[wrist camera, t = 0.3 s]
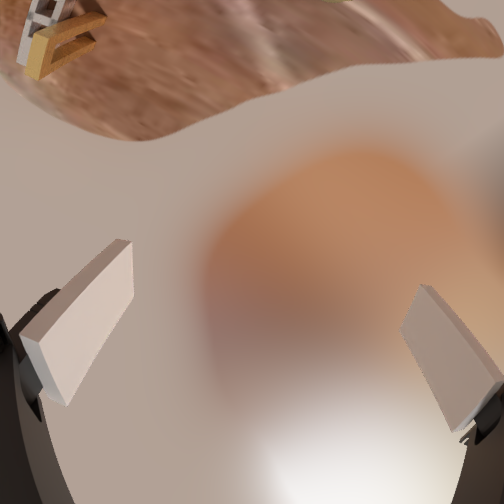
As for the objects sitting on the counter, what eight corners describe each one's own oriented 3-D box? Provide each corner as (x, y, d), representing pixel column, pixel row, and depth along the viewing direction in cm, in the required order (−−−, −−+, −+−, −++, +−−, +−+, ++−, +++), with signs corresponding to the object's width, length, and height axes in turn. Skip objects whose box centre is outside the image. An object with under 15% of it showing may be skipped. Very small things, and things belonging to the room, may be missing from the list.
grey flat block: (91, -32, 18) (79, -30, 16) (53, 67, 32) (42, 74, 30) (59, -39, 15) (47, -37, 13) (27, 56, 29) (16, 62, 27)
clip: (107, 16, 26) (48, 38, 18) (93, 49, 30) (38, 80, 22) (93, 11, 25) (33, 32, 17) (80, 43, 29) (24, 74, 21)
